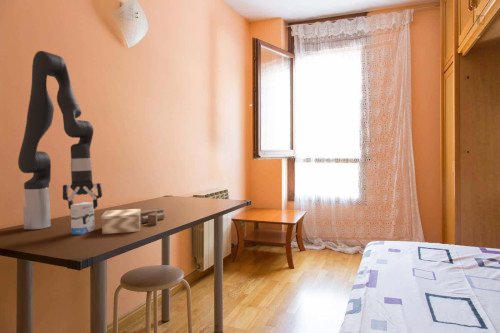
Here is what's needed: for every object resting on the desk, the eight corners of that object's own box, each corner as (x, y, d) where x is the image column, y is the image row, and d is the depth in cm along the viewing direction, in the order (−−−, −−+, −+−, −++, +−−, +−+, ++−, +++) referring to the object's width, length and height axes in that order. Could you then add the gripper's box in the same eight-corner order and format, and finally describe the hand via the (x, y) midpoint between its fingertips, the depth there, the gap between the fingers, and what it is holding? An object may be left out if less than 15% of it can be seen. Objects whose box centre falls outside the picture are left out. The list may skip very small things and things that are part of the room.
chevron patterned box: (101, 234, 136) (100, 216, 136) (106, 226, 150) (105, 210, 150) (139, 231, 140) (139, 214, 139) (141, 224, 154) (140, 208, 154)
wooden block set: (130, 210, 159) (160, 205, 174) (130, 222, 160) (160, 216, 174) (154, 213, 150) (184, 207, 165) (154, 226, 150) (184, 219, 165)
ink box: (81, 234, 135) (80, 205, 135) (70, 234, 136) (69, 205, 136) (95, 229, 144) (94, 202, 143) (85, 229, 145) (84, 201, 144)
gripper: (59, 170, 133) (61, 212, 134) (98, 169, 137) (101, 209, 138) (64, 170, 140) (66, 209, 141) (101, 168, 144) (103, 206, 145)
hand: (83, 209), depth 139 cm, fingers open, 8 cm apart
